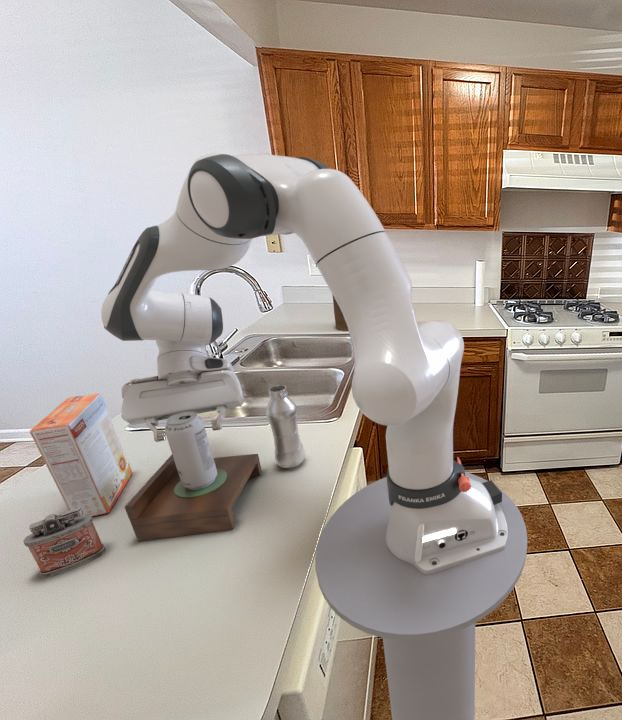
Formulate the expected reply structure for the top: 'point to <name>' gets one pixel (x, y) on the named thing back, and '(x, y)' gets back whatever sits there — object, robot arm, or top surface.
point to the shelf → (190, 500)
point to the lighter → (64, 542)
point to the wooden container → (339, 317)
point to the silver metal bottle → (284, 428)
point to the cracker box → (83, 454)
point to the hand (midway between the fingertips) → (189, 434)
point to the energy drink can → (191, 450)
